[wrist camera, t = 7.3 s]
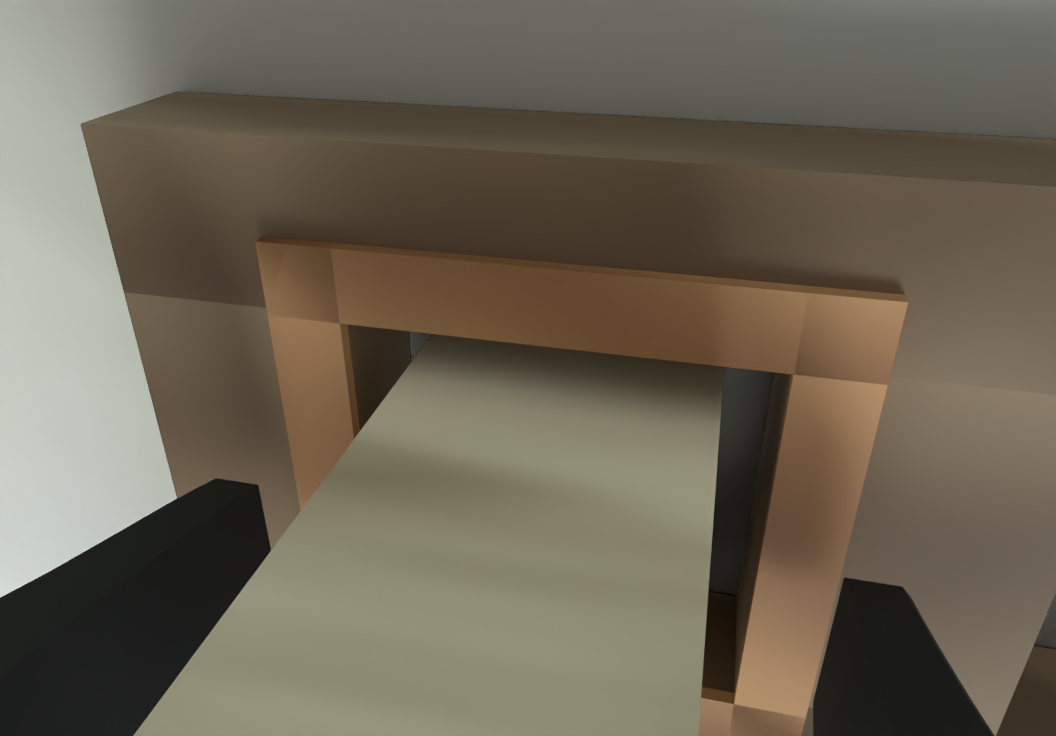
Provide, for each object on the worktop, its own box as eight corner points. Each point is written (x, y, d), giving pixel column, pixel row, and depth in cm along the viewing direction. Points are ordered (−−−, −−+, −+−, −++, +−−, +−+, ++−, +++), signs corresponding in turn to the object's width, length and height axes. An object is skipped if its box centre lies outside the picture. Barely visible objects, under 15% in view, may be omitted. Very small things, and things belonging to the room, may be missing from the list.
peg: (697, 549, 14) (637, 1185, 7) (464, 512, 15) (208, 1049, 8) (726, 332, 12) (684, 924, 5) (455, 303, 13) (102, 777, 6)
